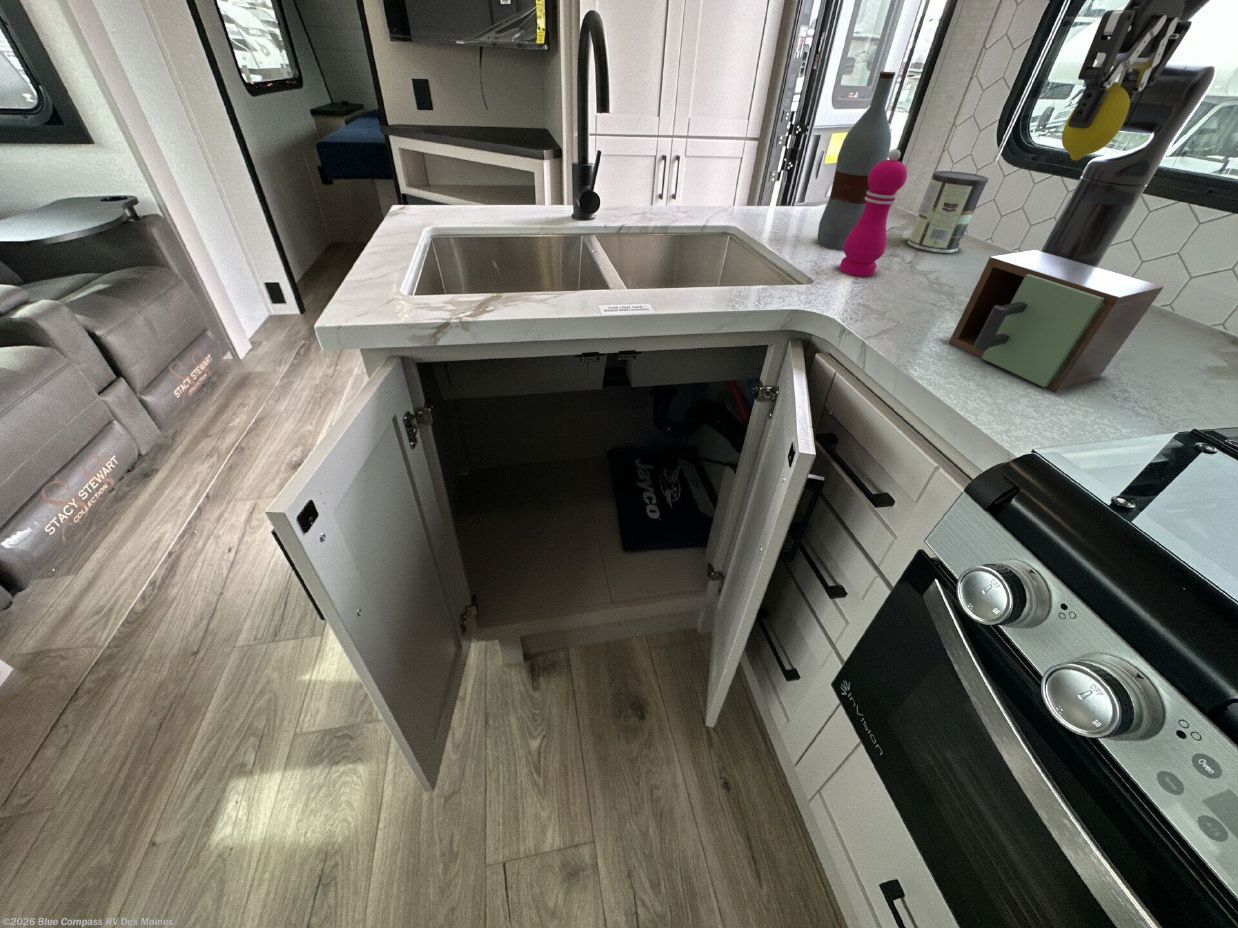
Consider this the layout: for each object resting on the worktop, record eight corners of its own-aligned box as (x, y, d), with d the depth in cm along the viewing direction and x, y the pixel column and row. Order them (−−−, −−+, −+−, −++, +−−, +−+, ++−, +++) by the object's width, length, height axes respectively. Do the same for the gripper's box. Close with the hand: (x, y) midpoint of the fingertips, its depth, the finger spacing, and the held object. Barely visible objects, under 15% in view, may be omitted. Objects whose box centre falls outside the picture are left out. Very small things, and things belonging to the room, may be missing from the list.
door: (1018, 396, 61) (1074, 305, 54) (955, 365, 67) (999, 279, 60) (1047, 386, 64) (1105, 298, 57) (984, 357, 69) (1029, 274, 62)
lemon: (1110, 166, 62) (1156, 84, 57) (1060, 161, 63) (1101, 80, 58) (1087, 159, 66) (1128, 83, 61) (1040, 156, 67) (1078, 79, 62)
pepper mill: (857, 279, 94) (899, 153, 81) (828, 267, 99) (864, 146, 86) (884, 275, 97) (929, 152, 84) (854, 263, 102) (893, 146, 89)
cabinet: (1055, 392, 63) (1119, 297, 56) (948, 342, 74) (989, 256, 66) (1099, 377, 67) (1164, 286, 60) (991, 332, 77) (1034, 249, 70)
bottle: (856, 241, 114) (910, 73, 96) (861, 253, 107) (921, 74, 89) (813, 236, 116) (857, 70, 97) (815, 247, 109) (864, 70, 90)
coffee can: (943, 241, 118) (972, 172, 109) (966, 254, 110) (999, 181, 101) (899, 238, 118) (925, 169, 109) (919, 252, 110) (948, 178, 101)
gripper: (1209, -89, 47) (1092, 131, 57) (1274, -64, 52) (1157, 133, 62) (1117, -76, 52) (1026, 123, 62) (1185, -55, 57) (1090, 125, 68)
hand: (1092, 127), depth 62 cm, fingers closed on lemon, 5 cm apart
